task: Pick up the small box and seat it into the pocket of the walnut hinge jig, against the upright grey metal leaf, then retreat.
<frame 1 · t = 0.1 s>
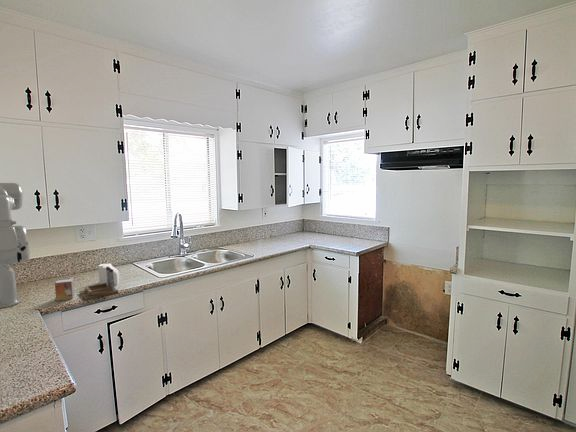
hand: (4, 263, 140), 31 cm above the counter, fingers open, 9 cm apart
hinge jig: (98, 293, 191), on the counter
corner bracket: (109, 283, 210), on the counter
small box: (65, 298, 183), on the counter
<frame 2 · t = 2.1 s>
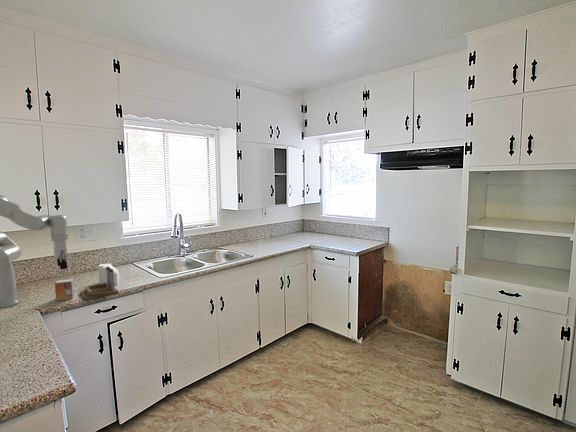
hand: (62, 267, 180), 19 cm above the counter, fingers open, 9 cm apart
nothing on the counter moved.
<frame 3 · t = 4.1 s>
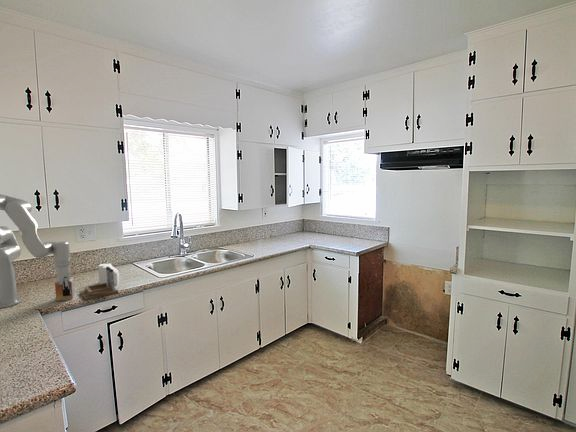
hand: (65, 293, 183), 3 cm above the counter, fingers closed on small box, 6 cm apart
small box: (65, 298, 183), on the counter, touching gripper
everything else where it was.
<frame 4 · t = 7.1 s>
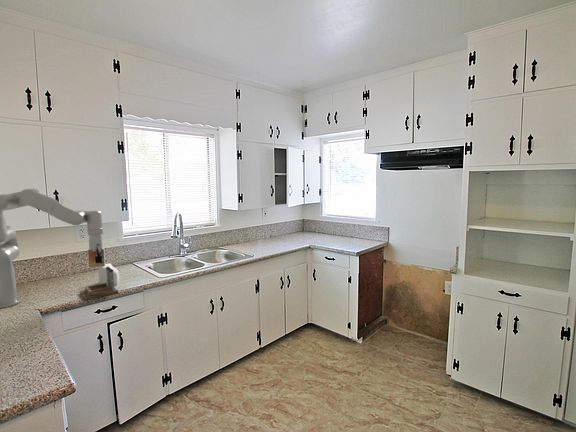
hand: (97, 261, 189), 20 cm above the counter, fingers closed on small box, 6 cm apart
small box: (97, 266, 190), point 17 cm above the counter, touching gripper
everything else where it was.
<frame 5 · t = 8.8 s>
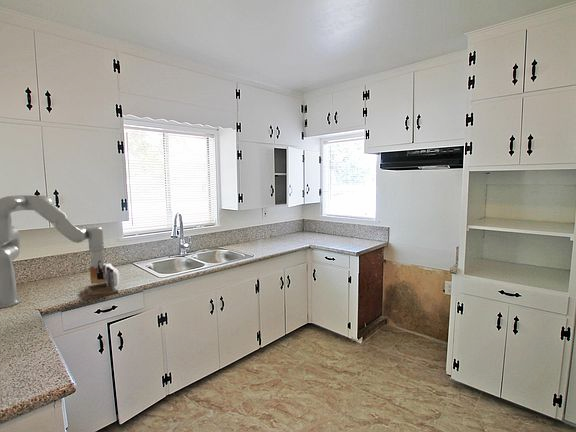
hand: (98, 277, 190), 10 cm above the counter, fingers closed on small box, 6 cm apart
small box: (99, 282, 191), point 7 cm above the counter, touching gripper
everything else where it was.
when the fingers open (6 cm above the counter, at t = 10.1 s): small box drops 2 cm, resting on hinge jig.
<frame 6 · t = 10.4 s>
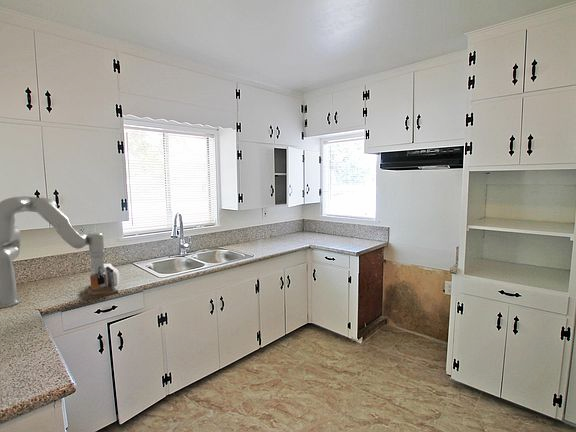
hand: (99, 282, 191), 7 cm above the counter, fingers open, 9 cm apart
small box: (99, 291, 191), point 1 cm above the counter, touching hinge jig
everything else where it was.
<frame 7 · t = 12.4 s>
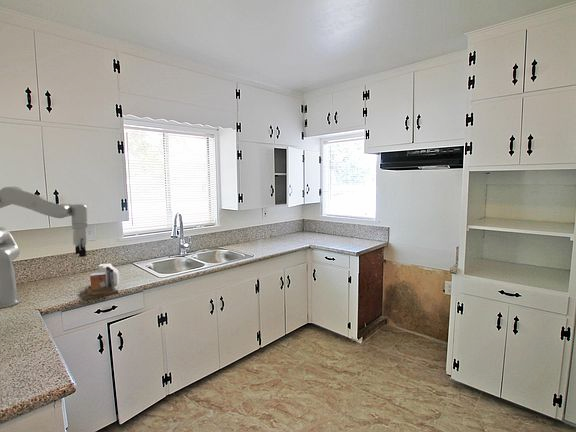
hand: (80, 255, 185), 24 cm above the counter, fingers open, 9 cm apart
nothing on the counter moved.
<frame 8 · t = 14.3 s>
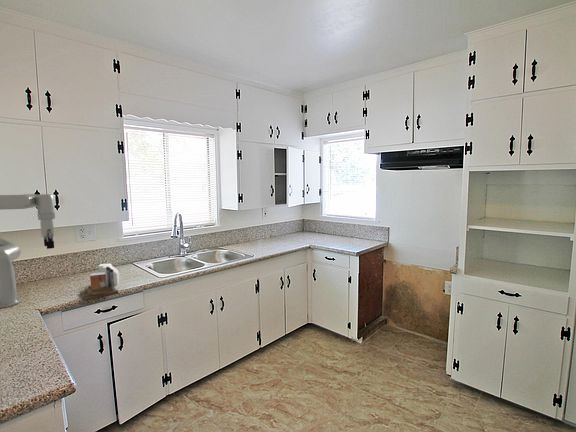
hand: (49, 247, 178), 30 cm above the counter, fingers open, 9 cm apart
nothing on the counter moved.
at the end: small box inside the target area on the hinge jig (0.2 cm from its centre), point 1.3 cm above the hinge jig's base; small box tilted 0°; the gripper is holding nothing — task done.
